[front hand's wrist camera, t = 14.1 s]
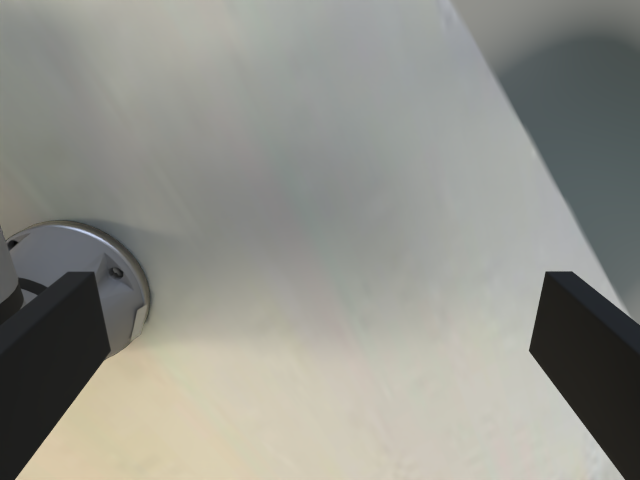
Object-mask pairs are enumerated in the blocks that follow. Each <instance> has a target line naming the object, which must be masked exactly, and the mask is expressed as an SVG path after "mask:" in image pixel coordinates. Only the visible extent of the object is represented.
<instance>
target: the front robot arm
mask: <svg viewBox="0 0 640 480" xmlns="http://www.w3.org/2000/svg"><path fill="white" fill-rule="evenodd" d="M149 307H150V293H149V287H148V283H147V280H146V277H145V275H144V273H143V270H142V269H141V267H140V265H139V264H138V262H137V261H136V259H135V258H134V257H133V255H132V254H131V253H130V252H129V251H128V250H127V249H126V248H125V247H124V246H123V245H122V244H121V243H119V242H118V241H117V240H115V239H114V238H113V237H111V236H109V235H108V234H106V233H104V232H102V231H100V230H98V229H96V228H94V227H91V226H88V225H85V224H82V223H77V222H72V221H47V222H42V223H38V224H35V225H32V226H30V227H28V228H26V229H24V230H22V231H20V232H18V233H17V234H15V235H13V236H11V237H10V238H8V239H7V240H6V241H5V238H4V235H3V232H2V229H1V226H0V480H15V479H16V477H17V476H18V475H19V473H20V472H21V471H22V469H23V468H24V467H25V465H26V464H27V463H28V461H29V460H30V459H31V457H32V456H33V455H34V453H35V452H36V451H37V449H38V448H39V447H40V445H41V444H42V443H43V441H44V440H45V439H46V437H47V436H48V435H49V433H50V432H51V431H52V429H53V428H54V427H55V425H56V424H57V423H58V421H59V420H60V419H61V417H62V416H63V415H64V413H65V412H66V411H67V409H68V408H69V407H70V405H71V404H72V403H73V401H74V400H75V399H76V397H77V396H78V394H79V393H80V392H81V390H82V389H83V388H84V386H85V385H86V384H87V382H88V381H89V380H90V378H91V377H92V376H93V374H94V373H95V372H96V370H97V369H98V368H99V366H100V365H101V364H102V362H103V361H104V360H106V359H107V358H109V357H111V356H113V355H115V354H117V353H118V352H120V351H121V350H122V349H124V348H125V347H126V346H127V345H129V344H130V343H131V341H132V340H133V339H135V338H136V337H138V336H139V335H141V332H142V327H143V325H144V323H145V321H146V318H147V316H148V312H149ZM529 352H530V353H531V354H532V356H533V357H534V358H535V360H536V361H537V362H538V364H539V365H540V366H541V368H542V369H543V370H544V372H545V373H546V374H547V376H548V377H549V378H550V380H551V381H552V382H553V384H554V385H555V386H556V388H557V389H558V390H559V392H560V393H561V394H562V396H563V397H564V399H565V400H566V401H567V403H568V404H569V405H570V407H571V408H572V409H573V411H574V412H575V413H576V415H577V416H578V417H579V419H580V420H581V421H582V423H583V424H584V425H585V427H586V428H587V429H588V431H589V432H590V433H591V435H592V436H593V437H594V439H595V440H596V441H597V443H598V444H599V445H600V447H601V448H602V449H603V451H604V452H605V453H606V455H607V456H608V457H609V459H610V460H611V461H612V463H613V464H614V465H615V467H616V468H617V469H618V471H619V472H620V473H621V475H622V476H623V477H624V479H625V480H640V325H639V324H637V323H636V322H635V321H634V320H632V319H631V318H630V317H629V316H627V315H626V314H625V313H624V312H622V311H621V310H620V309H619V308H617V307H616V306H615V305H614V304H612V303H611V302H610V301H609V300H607V299H606V298H605V297H604V296H602V295H601V294H600V293H598V292H597V291H596V290H595V289H593V288H592V287H591V286H590V285H588V284H587V283H586V282H585V281H583V280H582V279H581V278H580V277H578V276H577V275H576V274H575V273H573V272H546V273H545V277H544V282H543V287H542V292H541V296H540V301H539V306H538V311H537V315H536V320H535V325H534V329H533V334H532V339H531V344H530V348H529Z"/></svg>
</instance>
